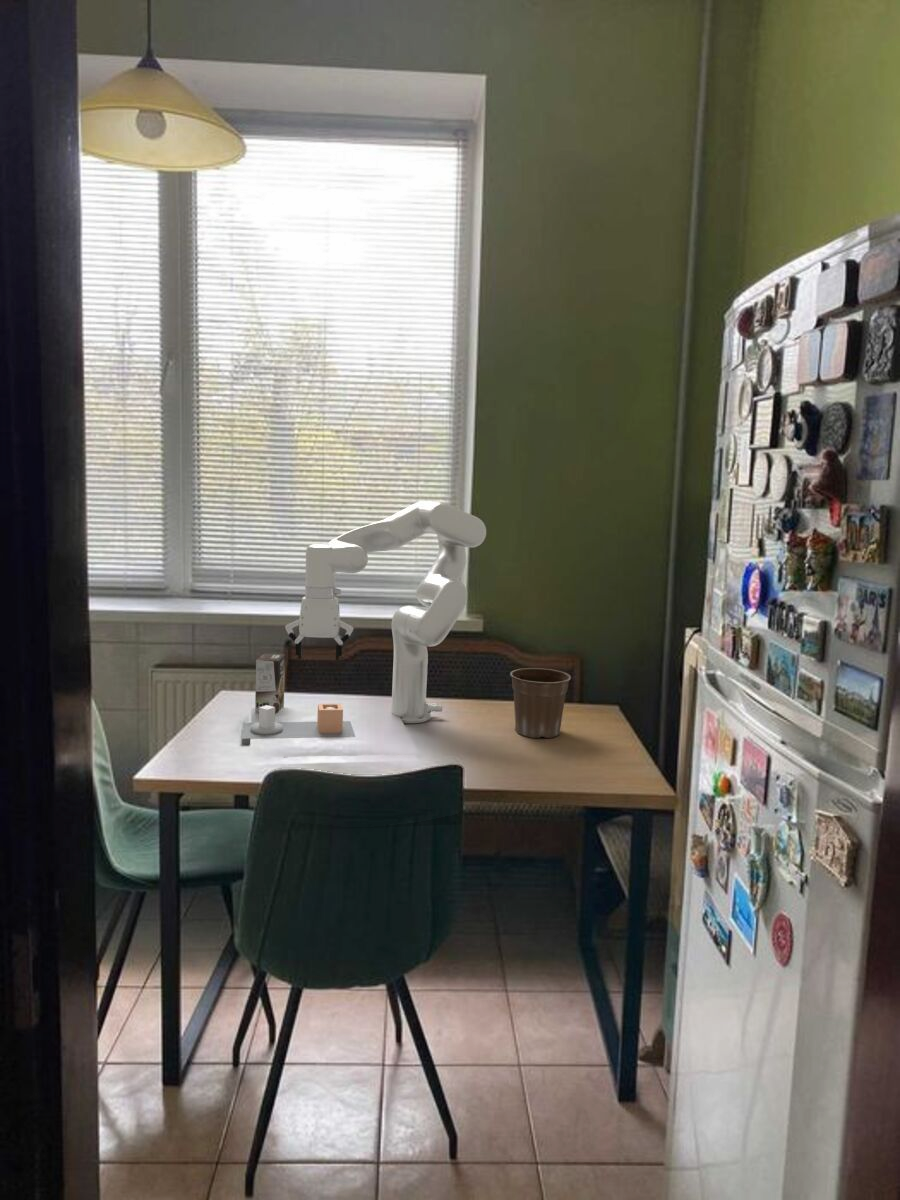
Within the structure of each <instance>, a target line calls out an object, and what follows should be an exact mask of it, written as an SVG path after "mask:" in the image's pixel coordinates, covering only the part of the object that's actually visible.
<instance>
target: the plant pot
mask: <svg viewBox="0 0 900 1200" xmlns="http://www.w3.org/2000/svg"><path fill="white" fill-rule="evenodd" d="M509 673H510V674H509V675H510V677H511V683H512V684H511V687H512V690H513V701H514V703H513V704H514V730H515V732H516V733H517V734H519V735H521V736H523V737H527V738H532V739H540V738H542V737H543V738H545V739H550V738H555V737H558V735H560V733H561V727H562V720H563V713H564V708H565V707H564V706H565V700H566V693H567V692H568V688H569V682H570V681H571V678H572V677H571V675H570V674H569V673H567V672H564V671H561V670H556V669H552V668H541V667H540V668H539V667H530V668H529V667H528V668H527V667H525V668H518V669H515V670H512V671H510V672H509Z"/></svg>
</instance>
